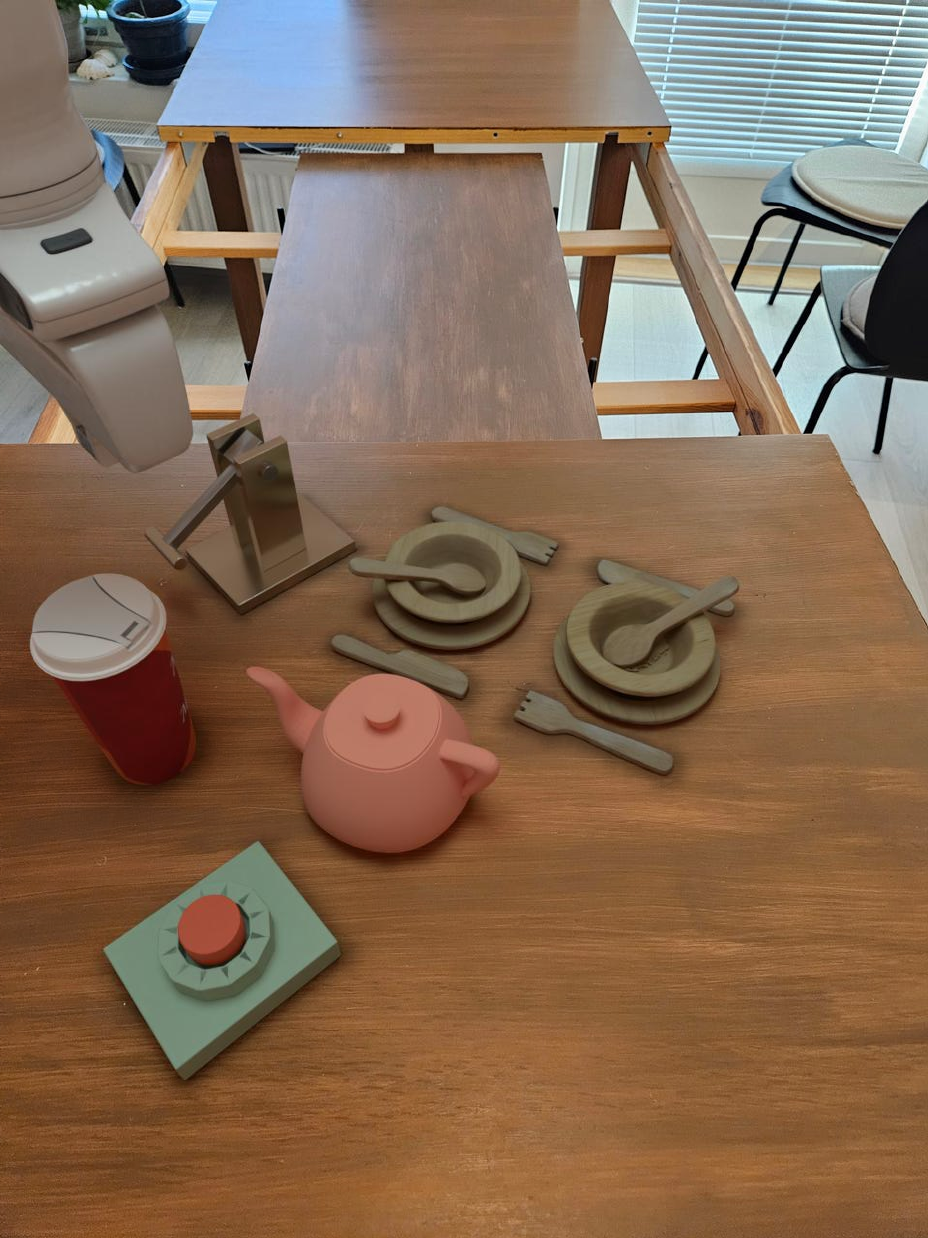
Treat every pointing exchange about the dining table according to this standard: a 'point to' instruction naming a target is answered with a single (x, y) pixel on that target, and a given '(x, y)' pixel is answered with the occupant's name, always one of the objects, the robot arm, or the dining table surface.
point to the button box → (234, 990)
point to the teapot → (382, 760)
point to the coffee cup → (118, 673)
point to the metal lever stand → (264, 524)
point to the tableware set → (584, 643)
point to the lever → (200, 506)
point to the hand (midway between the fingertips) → (104, 452)
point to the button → (212, 930)
